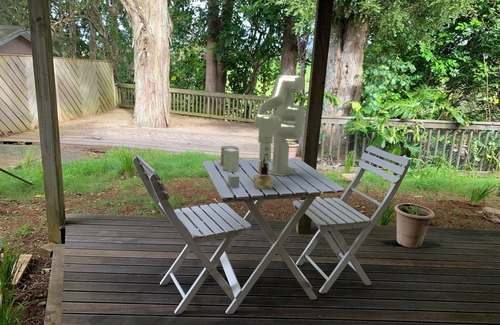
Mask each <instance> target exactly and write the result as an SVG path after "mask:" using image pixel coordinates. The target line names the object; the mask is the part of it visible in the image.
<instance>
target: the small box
mask: <svg viewBox="0 0 500 325" xmlns="http://www.w3.org/2000/svg"><path fill="white" fill-rule="evenodd" d="M239 158H240V150H239V149H238V150H235V149H224V159H223V166H222V170H223V171H227V172H229V173H233V172H238V171H239V163H240V162H239V161H240V159H239Z"/></svg>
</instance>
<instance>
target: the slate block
mask: <svg viewBox="0 0 500 325" xmlns="http://www.w3.org/2000/svg"><path fill="white" fill-rule="evenodd" d="M227 186H228V187H229V188H230V187H238V188H240V176H239V175H238V174H228V179H227Z"/></svg>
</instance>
